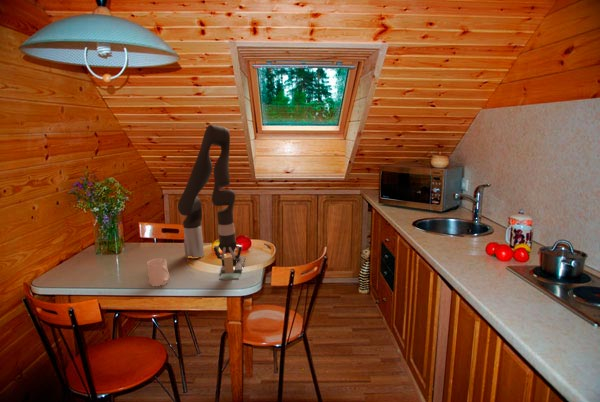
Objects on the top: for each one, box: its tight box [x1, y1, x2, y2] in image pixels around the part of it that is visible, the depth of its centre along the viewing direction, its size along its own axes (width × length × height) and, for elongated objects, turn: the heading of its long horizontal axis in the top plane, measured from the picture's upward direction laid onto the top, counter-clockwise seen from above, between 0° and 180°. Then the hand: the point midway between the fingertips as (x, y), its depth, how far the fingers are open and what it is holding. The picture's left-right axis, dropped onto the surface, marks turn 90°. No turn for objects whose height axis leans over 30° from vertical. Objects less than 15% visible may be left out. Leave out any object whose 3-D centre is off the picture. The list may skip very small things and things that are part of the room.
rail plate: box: [220, 255, 247, 275], centre depth 213 cm, size 10×16×2 cm, turn 179°
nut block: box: [224, 253, 235, 273], centre depth 200 cm, size 4×4×8 cm
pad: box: [219, 273, 241, 281], centre depth 202 cm, size 9×6×1 cm, turn 90°
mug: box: [146, 257, 170, 287], centre depth 196 cm, size 9×12×11 cm
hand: (229, 266), depth 201 cm, fingers closed on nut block, 4 cm apart
